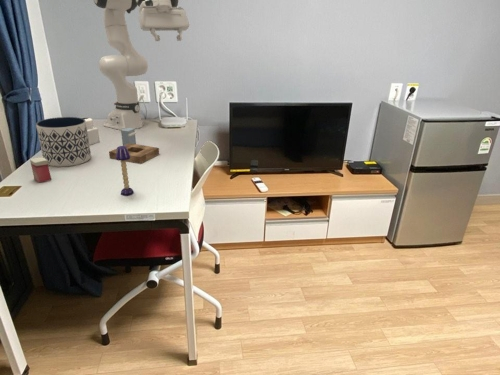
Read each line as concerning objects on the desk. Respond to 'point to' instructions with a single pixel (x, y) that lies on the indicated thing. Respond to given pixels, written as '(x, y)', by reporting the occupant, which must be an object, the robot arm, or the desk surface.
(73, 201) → the desk surface
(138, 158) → the wooden socket board
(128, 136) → the key block
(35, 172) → the small box
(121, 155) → the toy lamp
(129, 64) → the robot arm
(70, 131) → the planter
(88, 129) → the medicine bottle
